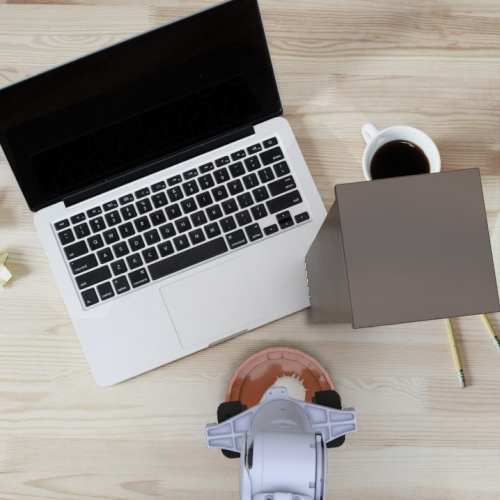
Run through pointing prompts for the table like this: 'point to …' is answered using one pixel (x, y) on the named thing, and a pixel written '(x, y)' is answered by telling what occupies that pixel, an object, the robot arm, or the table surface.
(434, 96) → the table surface
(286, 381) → the toy creature
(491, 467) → the table surface
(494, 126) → the table surface
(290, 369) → the bowl
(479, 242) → the taupe notched tower
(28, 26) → the table surface
